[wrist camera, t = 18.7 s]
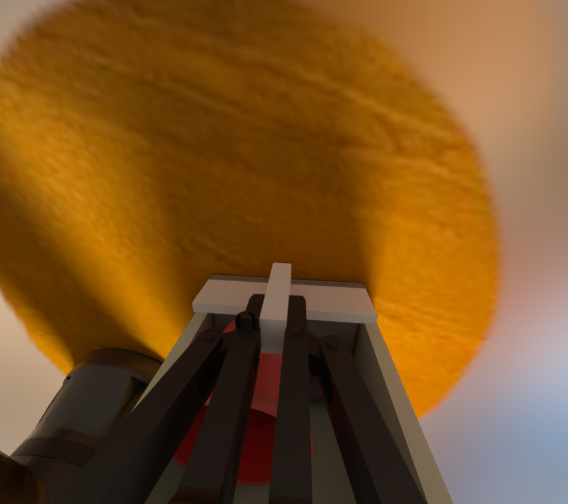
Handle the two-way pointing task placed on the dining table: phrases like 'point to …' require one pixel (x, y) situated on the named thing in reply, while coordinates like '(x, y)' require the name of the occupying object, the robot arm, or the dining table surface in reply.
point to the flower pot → (251, 424)
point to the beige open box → (331, 428)
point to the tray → (319, 307)
